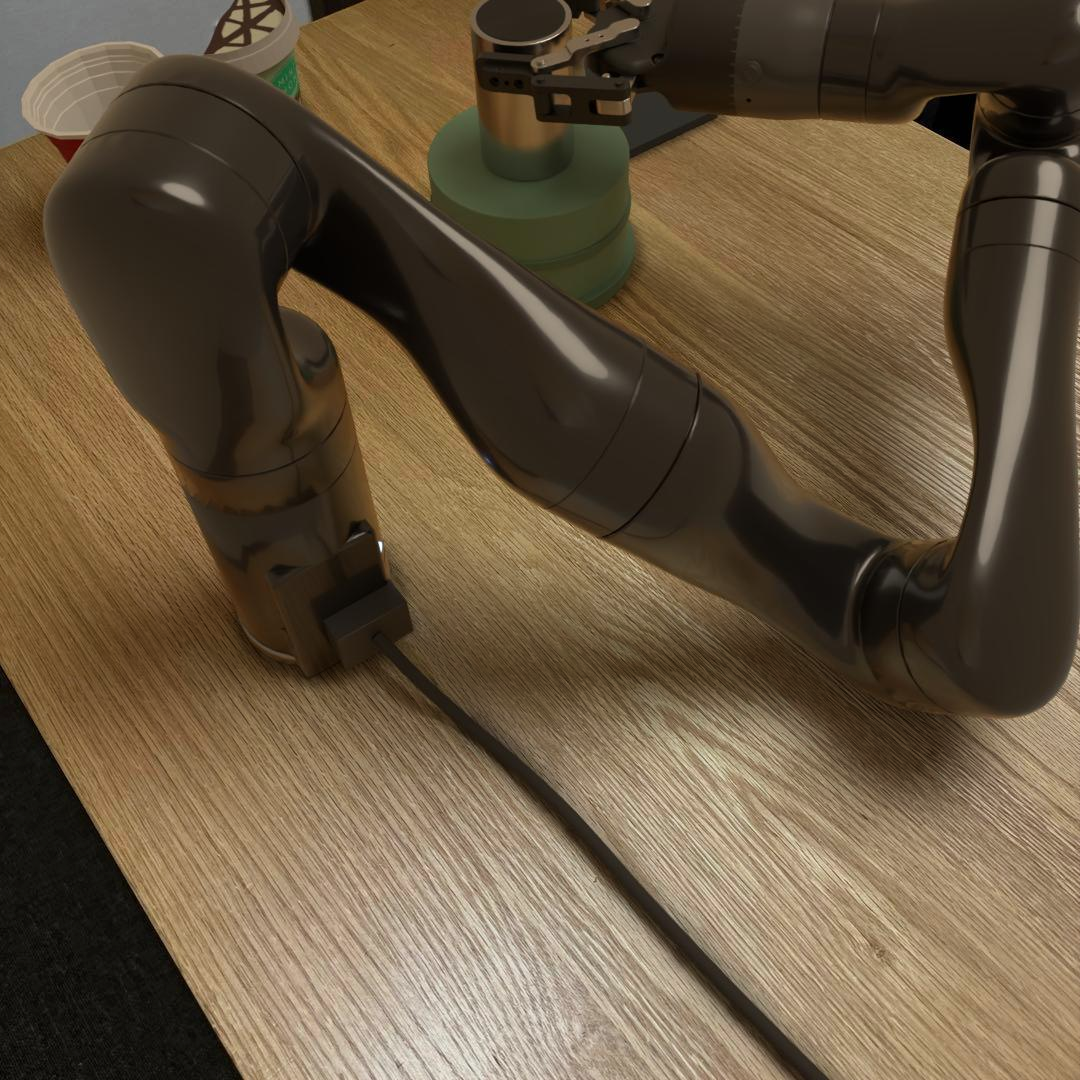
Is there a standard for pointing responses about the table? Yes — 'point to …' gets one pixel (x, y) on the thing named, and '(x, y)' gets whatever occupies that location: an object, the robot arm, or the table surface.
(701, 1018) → the table surface
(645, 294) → the table surface
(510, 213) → the sage green puck
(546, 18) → the steel cup
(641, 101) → the mat
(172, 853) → the table surface
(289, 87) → the food container
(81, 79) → the plastic cup
